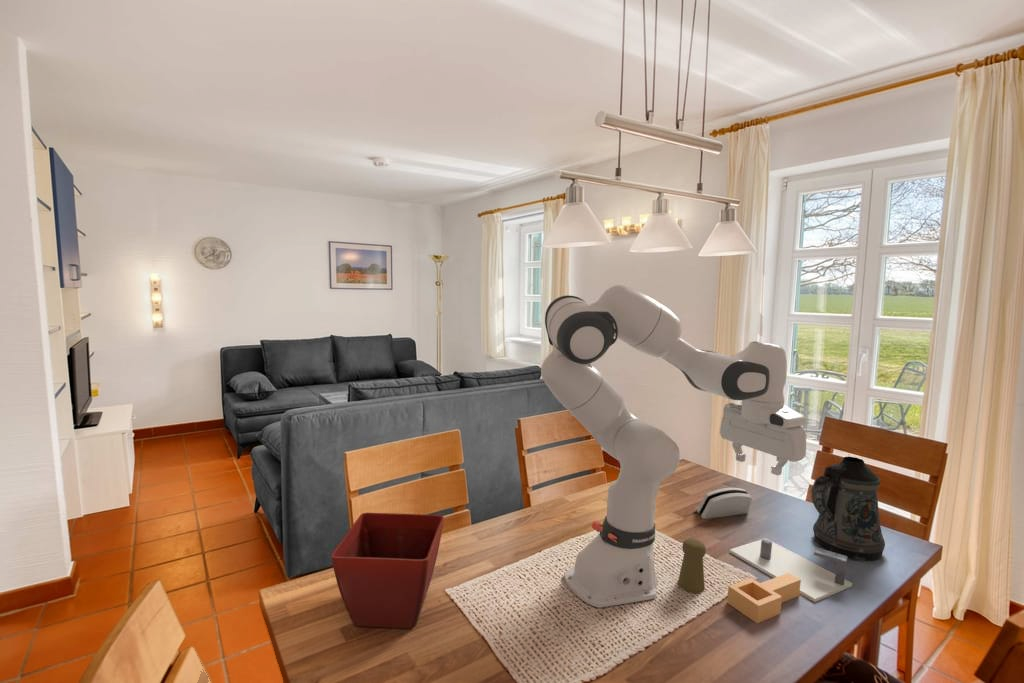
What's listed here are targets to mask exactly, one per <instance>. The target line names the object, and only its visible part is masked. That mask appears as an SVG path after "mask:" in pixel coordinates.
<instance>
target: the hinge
mask: <svg viewBox="0 0 1024 683" xmlns="http://www.w3.org/2000/svg"><path fill="white" fill-rule="evenodd" d="M752 500H753V497H752V496H751V494H748V491H747V490H745V489H743V488H740V487H739V488H738V487H724V488H718V489H714V490H713V491H709V492H707V493H705V494H704V496H703V498H702V500H701V501H700V503H699V506H696V507H695V508H694V510H693V511H694V513H698V514H700V517H701V518H702V519H705V520H706V519H713V518H723V517H727V516H728V517H730V516H736V515H737V516H738V515H739V516H740V515H745V514H747V515H748V514H749V511H750V508H751V504H752Z"/></svg>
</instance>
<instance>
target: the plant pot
mask: <svg viewBox="0 0 1024 683" xmlns="http://www.w3.org/2000/svg"><path fill="white" fill-rule="evenodd" d="M444 518H445V517H444V516H443V515H440V514H424V513H423V514H421V513H420V514H419V513H418V514H417V513H415V514H414V513H395V512H394V513H393V512H391V513H390V512H389V513H388V512H386V513H385V512H363V513H361V514H360V515H359V516H358V518H357V519H356V521H355V522H354V523H353V525H352V526H351V528H349V530H348V531H347V533H346V534H345V536H344V537H343V538H342V540H341V541H340V542H339V544H338V545H337V546H336V548H335V549H334V550H333V551H332V553H331V562H332V566H333V567H332V568H333V570H334V571H333V572H334V575H335V579H336V584H337V587H338V590H339V594H340V595H341V599H342V602H343V604H344V607H345V609H346V611H347V613H348V615H349V618H350V620H351V621H352V624H353V625H354V626H356V627H369V628H371V627H373V628H391V629H394V628H395V629H412V628H415V627H416V626H417V623H418V621H419V618H420V615H421V612H422V608H423V605H424V602H425V599H426V596H427V593H428V591H429V588H430V584H431V581H432V578H433V574H434V570H435V566H436V562H437V558H438V553H439V549H440V544H441V539H442V533H443V526H444Z"/></svg>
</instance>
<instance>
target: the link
mask: <svg viewBox="0 0 1024 683" xmlns="http://www.w3.org/2000/svg"><path fill="white" fill-rule="evenodd" d="M800 583H801V579H799V578H797V577H795V576H793V575H792V574H790V573H787V574H784V575H781V576H778V577H776V578H773V577H772V578H771V579H768V580H764V581H763V582H759V581H758V580H756V579H754V578H752V577H750V578H747V579H744V580H742V581H738V582H737V583H733V584H730V585H728V590H727V597H726V598H727V600H726V603H727V604H728V605H730V606H731V607H732V608H734V609H736V610H737V611H738V612H740V613H741V614H742V615H744V616H746V617H747V618H748V619H750V620H751V621H753V622H754V623H756V624H760V623H762V622H765V621H767V620H769V619H771V618H773V617H776V616H779V615H780V614H781V611H782V603H785V602H787V601H790V600H792V599H794V598H795V599H796V598H797V597H799V596H800Z"/></svg>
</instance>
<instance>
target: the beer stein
mask: <svg viewBox="0 0 1024 683" xmlns="http://www.w3.org/2000/svg"><path fill="white" fill-rule="evenodd" d="M823 473H824V474H823V475H821V476H819V477H817V478H816V480H815V482H814V483H813V485H812V487H811V491H810V493H811V501H812V504H813V506H814V508H815V509H816V511H817V513H818V517H817V519H816V521H815V523H813V527H812V529H813V530H812V531H813V536H814V542H816V543H817V545H819V546H820V548H821V549H825V550H828V551H831V552H835V553H838V554H841V555H845V556H847V559H849V560H853V561H856V562H857V561H860V562H873V561H874V562H875V561H878V560H880V559H881V558H882V557H883V553H884V550H885V547H886V541H885V539H884V536H883V533H882V532H883V531H882V528H881V521H880V514H879V513H880V512H879V500H878V489H879V488H880V487H881V486H880V485H881V483H882V481H881V478H880V477H879V476H878V475H877V474H876V473H875V472H874V471H873V470H871V468H870V467H868V466H867V465H866V462H865V461H864V460H863V459H861V458H858V457H856V456H845V457H843V458H842V460H840V461H839V462H837V463H835V464H833V465H828V466H826V467H825V469H824V472H823Z"/></svg>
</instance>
